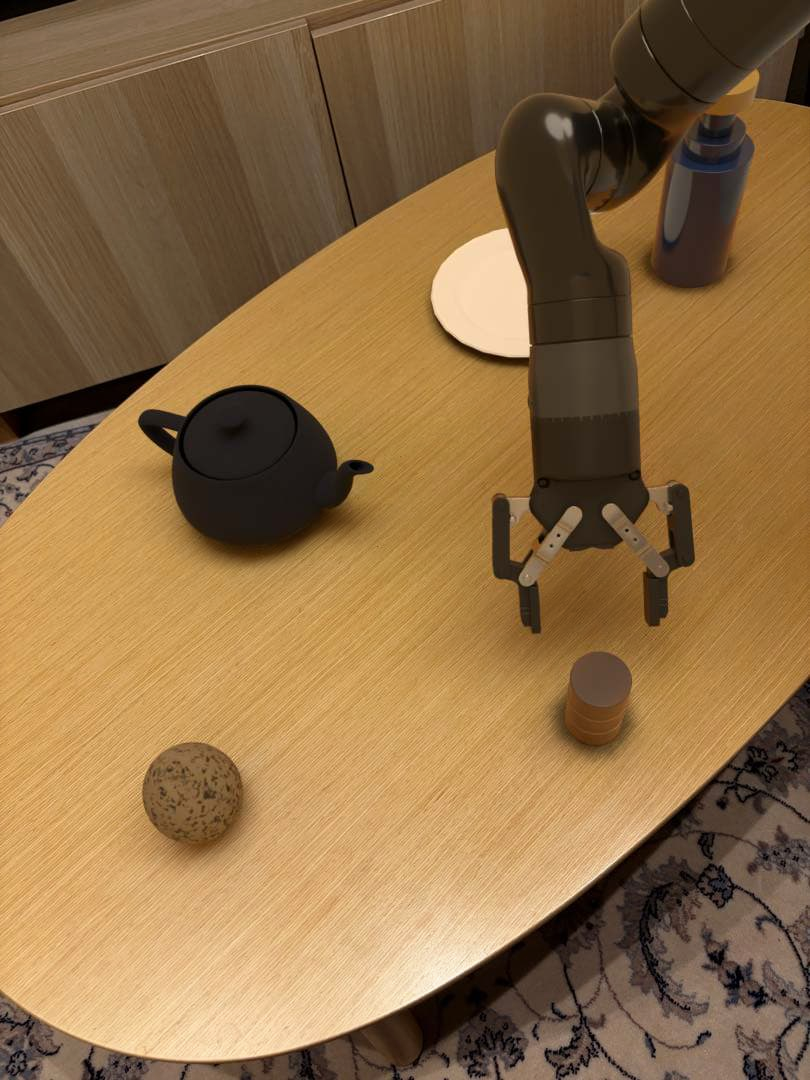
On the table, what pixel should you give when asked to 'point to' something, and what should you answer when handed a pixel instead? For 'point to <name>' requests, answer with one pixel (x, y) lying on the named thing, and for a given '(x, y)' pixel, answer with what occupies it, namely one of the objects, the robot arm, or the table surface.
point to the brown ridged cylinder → (597, 697)
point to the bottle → (704, 192)
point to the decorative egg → (192, 792)
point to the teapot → (251, 465)
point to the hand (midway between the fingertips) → (593, 627)
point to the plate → (484, 296)
